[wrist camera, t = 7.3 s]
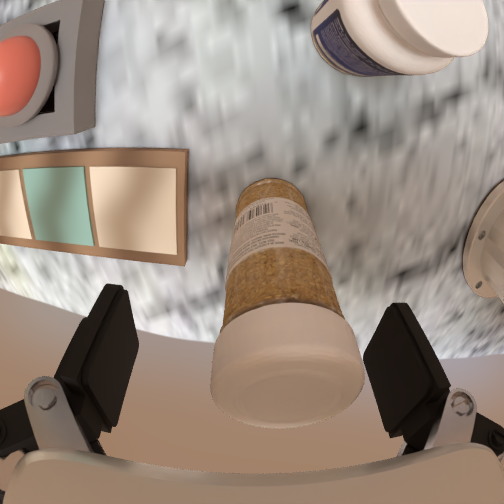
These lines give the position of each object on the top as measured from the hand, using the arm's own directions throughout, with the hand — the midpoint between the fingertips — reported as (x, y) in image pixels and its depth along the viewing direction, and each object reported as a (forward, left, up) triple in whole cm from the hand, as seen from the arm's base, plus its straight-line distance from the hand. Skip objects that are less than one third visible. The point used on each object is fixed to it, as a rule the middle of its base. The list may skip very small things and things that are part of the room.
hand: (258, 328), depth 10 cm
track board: (+15, 0, -10) cm, 18 cm away
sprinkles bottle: (-1, 0, -11) cm, 11 cm away
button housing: (+16, -10, -10) cm, 21 cm away
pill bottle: (-4, -12, -11) cm, 17 cm away
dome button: (+16, -10, -10) cm, 21 cm away
